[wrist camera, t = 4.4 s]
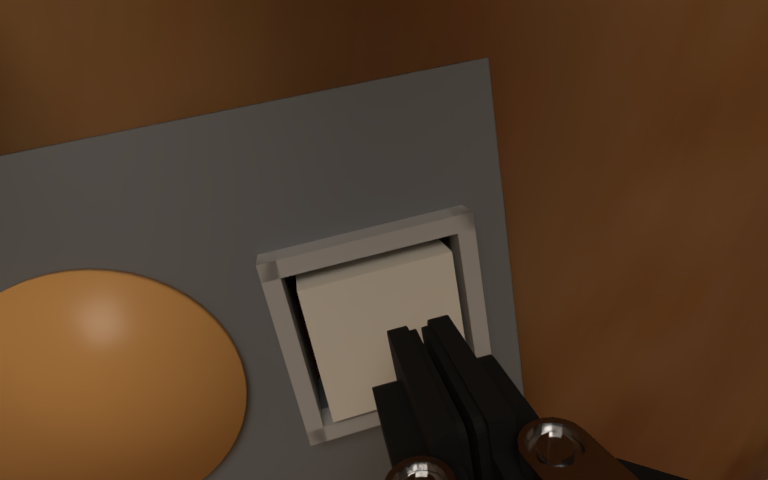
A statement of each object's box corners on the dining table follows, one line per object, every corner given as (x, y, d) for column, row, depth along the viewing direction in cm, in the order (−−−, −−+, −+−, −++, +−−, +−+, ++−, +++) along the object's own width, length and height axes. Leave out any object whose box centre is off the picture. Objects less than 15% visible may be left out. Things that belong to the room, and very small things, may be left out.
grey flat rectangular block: (465, 61, 16) (502, 55, 14) (508, 421, 22) (541, 469, 19) (-167, 188, 14) (-280, 213, 11) (58, 562, 19) (19, 643, 16)
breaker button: (426, 227, 17) (451, 251, 15) (445, 341, 19) (471, 381, 16) (294, 260, 17) (296, 291, 14) (326, 375, 18) (333, 422, 16)
